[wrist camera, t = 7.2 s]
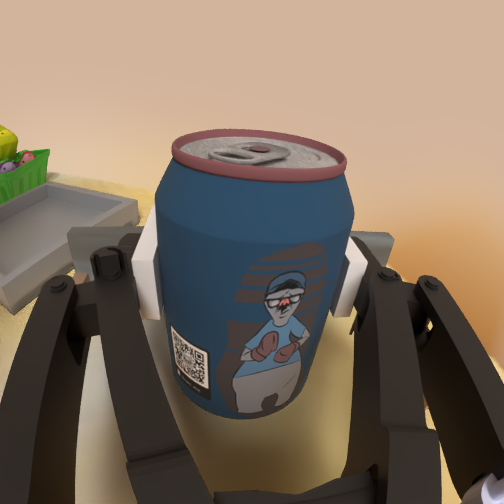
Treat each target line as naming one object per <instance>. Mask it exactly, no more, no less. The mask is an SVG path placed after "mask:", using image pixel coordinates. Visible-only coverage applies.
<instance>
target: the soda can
mask: <svg viewBox="0 0 504 504" xmlns="http://www.w3.org/2000/svg"><path fill="white" fill-rule="evenodd" d="M172 155H173V158H172V159H171V161H170V163H169V165H168V167H167V169H166V171H165V174H164V175H163V177H162V180H161V181H160V184H159V186H158V188H157V191H156V193H155V214H156V229H157V243H158V255H159V266H160V277H161V286H162V295H163V304H164V312H165V320H166V327H167V334H168V341H169V348H170V354H171V361H172V367H173V372H174V376H175V379H176V381H177V383H178V385H179V387H180V388H181V390H182V391H183V392H184V394H185V395H186V396H187V397H188V398H189V399H190V400H191V401H192V402H194V403H195V404H196V405H198V406H199V407H201V408H202V409H204V410H206V411H208V412H210V413H213V414H215V415H218V416H222V417H226V418H231V419H254V418H259V417H264V416H267V415H270V414H272V413H275V412H277V411H279V410H281V409H282V408H284V407H285V406H287V405H288V404H289V403H291V402H292V401H293V400H294V399H295V398H296V397H297V395H298V394H299V393H300V391H301V390H302V388H303V386H304V384H305V382H306V379H307V376H308V373H309V370H310V367H311V365H312V362H313V359H314V356H315V353H316V350H317V347H318V344H319V341H320V338H321V335H322V331H323V328H324V325H325V322H326V319H327V315H328V312H329V309H330V306H331V302H332V299H333V295H334V292H335V289H336V285H337V281H338V278H339V274H340V271H341V267H342V263H343V259H344V256H345V252H346V248H347V244H348V240H349V236H350V232H351V228H352V224H353V220H354V207H353V203H352V199H351V195H350V192H349V188H348V185H347V181H346V178H345V175H344V171H345V169H346V165H347V159H346V157H345V156H344V154H343V153H341V152H340V151H339V150H337V149H335V148H333V147H331V146H329V145H326V144H323V143H321V142H318V141H315V140H312V139H308V138H304V137H300V136H295V135H290V134H284V133H278V132H271V131H261V130H246V129H215V130H207V131H200V132H195V133H191V134H187V135H184V136H181V137H179V138H177V139H176V140H175V141H174V142H173V144H172Z"/></svg>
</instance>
